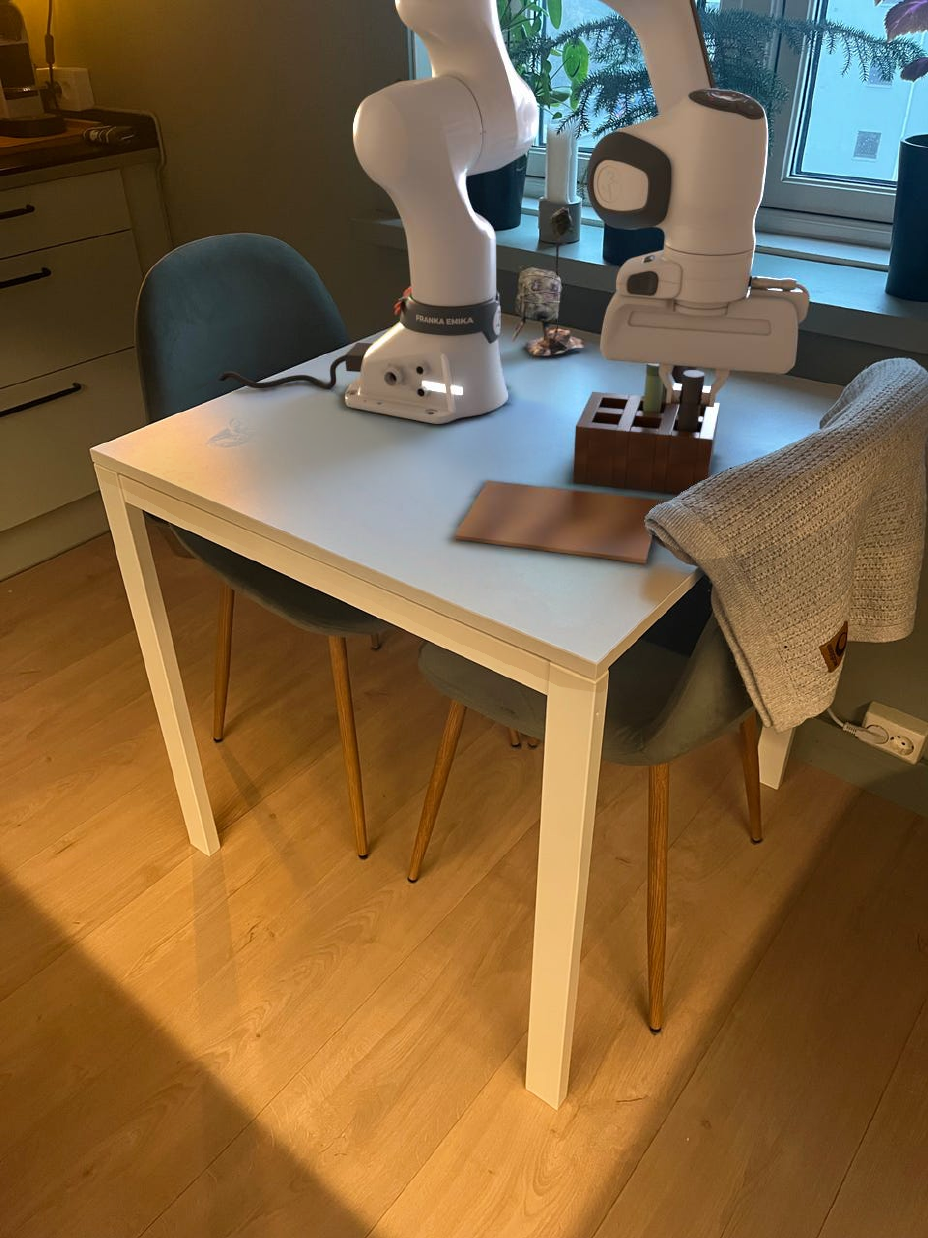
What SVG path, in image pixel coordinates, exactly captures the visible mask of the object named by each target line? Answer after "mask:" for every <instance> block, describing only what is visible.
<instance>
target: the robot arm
mask: <svg viewBox="0 0 928 1238" xmlns="http://www.w3.org/2000/svg"><path fill="white" fill-rule="evenodd" d="M394 2H395V8H396V11H397V14H398V17H399V18H400V21H402V23H403V24H404V25H405V26H406V27H407V28H408V29H409V30H410V31H412V32H413V33H415V34H416V35H417V36H418V37H419V38H420V39H421V41H422V43H423V45H424V47H425V49H426V52H427V55H428V60H429V62H430V67H431V73H432V74H431V75H432V77H425V78H418V79H417V78H416V79H410V80H402V81H398V82H396V83H393V84H391V85H389V86H385V87H383V88H382V89H379V90H378V91H375V92H374V93H371V94H370V95H368V96H366V97H365V98H364V99H362V101H361V102H360V104H359V106H358V108H357V110H356V113H355V116H354V121H353V126H352V139H353V146H354V152H355V154H356V155H355V156H356V157H357V159H358V162H359V165H360V166H361V168H362V169H363V171H364V172H365V174H366V175H367V176H368V177H369V178H370V179H371V180H372V181H373V182H374V183H376V184H377V185H379V187H381V189H383V190H384V191H385V192H386V193H387V195H388V196H389V197H390V199H391V200H392V202H393V204H394V205H395V208H396V210H397V212H398V214H399V216H400V219H401V222H402V225H403V229H404V232H405V238H406V244H407V253H408V265H409V277H410V286H409V287H408V288H407V289H405V291H404V292H403V296H401V297H400V298H398V300H397V301H398V302H397V303H396V304H395V305H394V309H395V311H394V315H395V316H397V315H398V318H399V321H397V323H396V324H394V325H393V326H392V327H391V328H389V329H388V330H387V331H386V332H385V333H384V334H382V335H381V336H380V337H379V338H378V339H376V340H375V341H374V342H359V341H358V342H356V343H355V344H354V345H353V346H352V347H351V348H350V349H349V350H348V351H347V352H346V353H345V354H343V355H341V356H339V357H337V358H335V360H333V362H332V363H331V364H330V366H329V367H330V368H329V377H330V380H329V382H327V383H326V382H324V381H322V380H319V379H318V378H317V377H313V376H312V375H307V374H295V375H288V376H284V377H282V378H278V379H274V380H270V381H263V382H255V381H251V380H249V379H247V378H245V377H244V376H242V375H241V374H239V373H237V372H234V371H230V370H228V371H226V372H223V373H222V374H221V375H220V376H219V377H218V379H217V381H219V382H224V381H226V380H227V379H229V378H232V379H234V380H235V381H237V382H239V383H240V384H242V385H243V386H246V387H249V388H251V389H270V388H275V387H277V386H278V387H279V386H281V385H284V384H289V383H293V382H302V381H303V382H308V383H311V384H314V385H315V386H317V387H319V388H323V389H327V390H331V389H332V388H334V387H335V385H337V368H338V367H339V365H341V364H342V363H344V362H345V371H346V372H350V373H351V372H352V373H360V374H359V376H358V377H356V378H355V379H354V380H353V381H352V382H351V383H350V384H349V385H348V387H347V388H346V391H345V393H344V394H345V395H344V402H345V405H346V406H347V407H348V408H351V409H356V410H361V411H367V412H372V413H377V414H383V415H387V416H393V417H397V418H402V419H408V420H414V421H419V422H424V423H429V424H435V425H442V424H447V423H451V422H452V421H455V420H457V419H458V420H459V419H461V418H467V417H474V416H479V415H483V414H486V413H489V412H493V411H494V410H497V409H499V408H500V407H502V406H503V405H505V404H506V402H507V401H508V399H509V397H510V396H509V391H508V389H507V385H506V382H505V381H506V380H505V378H504V373H503V368H502V361H501V355H500V346H499V345H500V344H499V337H500V332H501V323H502V321H501V315H502V313H501V311H502V309H501V305H500V293H499V291H498V289H497V236H496V232H495V230H494V227H493V226H492V224H491V223H490V222H489V221H488V220H487V219H486V218H485V217H483V216H482V215H481V214H479V213H477V212H475V211H474V209H473V207H472V204H471V202H470V199H469V195H468V190H467V177H471V176H474V175H479V174H483V173H488V172H492V171H497V170H499V169H502V168H503V167H506V166H507V165H509V164H511V163H513V162H514V161H515V160H516V161H517V159H519V158H521V157H523V156H524V155H525V154H527V152H529V150H530V149H531V148H532V146H533V144H534V142H535V140H536V137H537V134H538V130H539V121H540V120H539V119H540V118H539V108H538V103H537V100H536V97H535V95H534V92H533V91H532V89H531V86H529V85H528V83H527V82H526V81H525V80H524V79H523V78H522V77H521V76H520V74H518V71H516V69H515V67H514V65H513V63H512V61H511V59H510V58H511V57H510V55H509V53H508V51H507V50H508V49H507V47H506V43H505V40H504V37H503V34H502V28H501V23H500V19H499V14H498V5H497V0H394ZM598 2H600V3H602V4H604V5H605V6H606V7H609V9H611V10H613V11H614V12H615V13H617V15H619V16H620V17H621V18H622V19H623V20H624V21H625V22H626V23H627V24H628V25H629V26H630V27H631V29H632V31H633V32H634V34H635V36H636V38H637V40H638V42H639V45H640V49H641V52H642V55H643V59H644V63H645V66H646V71H647V74H648V77H649V82H650V85H651V90H652V92H653V96H654V97H653V98H654V100H655V104H656V107H657V112H658V115H656V116H654V117H651V118H648V119H646V120H643V121H640V122H637V123H634V124H630V125H627V126H624V127H621V128H618V129H616V130H613V131H611V132H610V133H607V134H606V135H604V136H602V137H601V138H600V140H598V142H597V143H596V145H595V146H594V148H593V150H592V152H591V154H590V157H589V160H588V164H587V168H586V179H585V182H586V191H587V196H588V199H589V202H590V205H591V207H592V209H593V211H594V213H595V214H596V215H597V216H598V218H599V219H600V220H601V221H602V222H603V223H604V224H606V225H607V226H609V227H611V228H613V229H616V230H617V229H619V230H631V231H632V230H633V231H634V230H639V229H647V228H657V229H660V230H662V231H663V234H664V242H663V249H662V250H661V249H660V250H658V251H654V252H650V253H646V254H642V255H639V256H635V257H631V258H629V259H628V260H626V261H625V262H624V263H623V264H622V266H620V268H619V270H618V272H617V275H616V279H615V289H616V290H615V293H614V294H613V295H612V297H611V299H610V301H609V303H608V305H607V307H606V310H605V313H604V318H603V323H602V327H601V334H600V341H599V352H600V353H601V354H602V356H603V357H604V358H605V360H607V361H614V362H615V361H616V362H617V361H618V362H628V363H643V364H647V363H653V364H659V375H660V377H661V379H662V381H663V383H664V385H665V387H666V389H667V398H666V403H669V404H680V395H681V386H682V384H676V383H675V381H674V379H673V377H672V375H671V373H672V370H673V367H674V365H677V366H690V367H697V368H702V369H703V368H705V369H715V372H714V373H715V374H714V378H715V380H714V381H713V383H711V385H709V386H708V385H703V390H702V395H701V398H702V399H701V402H700V406H704V407H714V403H716V396H717V394H718V392H719V391H720V390H721V388H723V386H724V385H725V384H726V382H727V381H728V380H729V376H730V371H741V372H752V373H753V372H754V373H766V374H778V375H779V374H780V375H785V374H787V373H788V372H789V371H790V370H791V369H793V368H794V366H795V364H796V359H797V351H798V350H797V347H798V339H799V337H798V336H799V325H800V324H801V323H802V322H803V321H804V320H805V319H806V317H807V315H808V310H809V305H810V301H811V300H810V298H811V297H810V293H809V290H808V289H807V288H806V286H804V285H803V284H801V283H798V280H797V279H794V278H790V277H789V278H786V277H785V278H779V279H778V278H773V277H766V276H756V275H755V276H753V275H751V274H752V269H753V261H754V254H755V249H756V233H755V221H756V220H755V219H756V215H757V211H758V209H759V207H760V204H761V202H762V199H763V194H764V187H765V179H766V171H767V170H766V169H767V161H768V147H769V128H768V119H767V114H766V111H765V109H764V107H763V106H762V105H761V104H760V103H759V102H758V101H757V100H756V99H755V98H753V97H752V96H749V95H747V94H745V93H741V92H738V91H734V90H731V89H730V90H729V89H719V88H717V85H716V80H715V77H714V73H713V72H714V71H713V68H712V64H711V60H710V56H709V53H708V47H707V43H706V39H705V35H704V31H703V27H702V23H701V19H700V15H699V11H698V6H697V3H696V0H598Z"/></svg>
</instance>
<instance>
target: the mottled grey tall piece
mask: <svg viewBox="0 0 928 1238" xmlns="http://www.w3.org/2000/svg"><path fill="white" fill-rule="evenodd" d="M549 224H550V229H551V231H552V233H553V234H552V235H554V236H555V237H556V238H555V239H556V240H555V263H554V264H555V271H554V270H550V269H541V268H537V267H529V268H525V269H523V270H521V271H520V273H519V276H518V283H517V285H518V286H517V288H518V293H517V295H516V299H515V310H516V313H517V315H519V316H521V320H520V322H519V324H518V325H517V326H516V328H515V332H514V334H513V335H512V339H511V341H512V342H514V341H515V340H516V338H517V337H518V335H519V334H520V332H521V331H522V329H523V327H524V325H525V324H526V322H527V321H526V320H527V319H529V320H533V321H537V322H538V321H540V323H541V325H542V331H543V336H542V337H538V338H536V339H531V340H528V341H527V342H524V343H525V344H524V346H525V347H526V349H527V350H528V353H530V354H532V355H533V356H538V357H541V356H543V357H546V356H554V355H557V354H563V353H565V352H567V351H568V350H574V349H583V348H584V347H585V345H584V344H585V343H584V340H585V339H584V338H583V339H580V338H577V336H575V335H572V334H571V331H570V330H569V329H566V330H565V329H563V328H562V329H561V328H559V318H558V317H559V313H560V312H559V310H560V303H561V296H562V294H561V293H562V290H563V286H562V281H561V278H560V275H559V250H560V238H561V237H563V236H564V235H565V234H568V232H569V233H570V234H571V235H572V236H574V235H575V231H574V228H572V227H573V226H574V221H573V219H572V217H571V215H570V211H569V210H568V208H566V207H561V208H560V209H559V210H557V211H555V212H554V213H553V214H552V215H550V218H549ZM519 268H522V266H519ZM554 322H556V328H555V329H551V330H550V325H551V324H552V323H554Z"/></svg>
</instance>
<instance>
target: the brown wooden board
mask: <svg viewBox="0 0 928 1238" xmlns="http://www.w3.org/2000/svg"><path fill="white" fill-rule="evenodd" d="M662 502H663V501H662V500H661V499H653V498H645V497H635V496H626V495H619V494H609V493H600V492H591V491H582V490H576V489H575V490H574V489H565V488H556V487H548V486H539V485H529V484H520V483H512V482H503V481H497V480H496V481H494V480H487V481H486V482H485V484H484V485H483V488H482V489H481V490H480V493H479V494H478V496H477V497H476V498H475V501H474V502H473V504H472V506H471V507H470V509H469V511H468V513H467V514H466V516H465V517H464V519H463V521H462V523H461V524H460V526H459V528H458V529H457V531H456V533H455V534H454V539H455V540H460V541H465V542H467V541H468V542H469V541H470V542H474V543H475V542H476V543H483V544H491V545H499V546H504V547H505V546H506V547H512V548H513V547H514V548H522V549H527V550H528V549H529V550H535V551H536V550H538V551H543V552H551V553H559V554H568V555H575V556H583V557H590V558H596V559H598V558H599V559H605V560H613V561H620V562H629V563H635V564H644V565H646V563H647V560H648V556H649V552H650V548H651V546H652V541H653V538H651V537H650V536H649V533H648V531H647V530H646V527H645V522H644V520H645V516H646V515H647V514H648V513H649V511H650V510H651V509H652V508H654V507H655V506H656V505H658V504H660V503H661V504H662Z"/></svg>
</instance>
